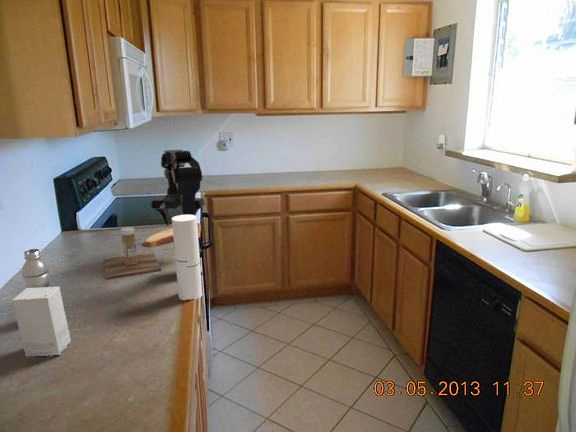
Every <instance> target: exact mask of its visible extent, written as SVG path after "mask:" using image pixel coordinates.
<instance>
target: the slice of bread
mask: <svg viewBox="0 0 576 432" xmlns="http://www.w3.org/2000/svg"><path fill="white" fill-rule="evenodd" d="M170 243H174V238H173V227H172V228H168V229H163V230H161V231H159V232H156V233H153V235H150V236H148V237H147V238H146V239H144V243H143V245H144V247H145V248H154V247H158V246H163V245H166V244H170Z"/></svg>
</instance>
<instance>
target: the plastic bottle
mask: <svg viewBox="0 0 576 432" xmlns="http://www.w3.org/2000/svg"><path fill="white" fill-rule="evenodd" d="M23 255H24V260H25V262H24V263H23V266H22V267H21V275H22V279H23V280H24V283H25V287H26V288H40V287H51V285H50V274H49V273H50V272H49V271H50V269H49V265H48V263H47V262H46V261H45V260H43V259H42V258H41V256H42V254H41V252H40V249H38V248H32V249H26V250H25V251H24V252H23Z"/></svg>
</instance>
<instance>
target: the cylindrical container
mask: <svg viewBox="0 0 576 432" xmlns="http://www.w3.org/2000/svg"><path fill="white" fill-rule="evenodd" d="M171 224H172V225H171V226H172V228H173V238H174V241H173V250H174V249H175V250H174V259H175V260H174V261H175V269H176V281H177V292H178V293H177V294H178V299H179V300H181V301H185V300H187V299H194V300H193V301H195V300H198V299H200V298H201V297H202V296H203V287H202V276H201V272H202V271H201V258H200V256H199V242H198V236H199V231H198V218H197V215H196V216H195V215H181V214H180V215H176V216H172V217H171Z"/></svg>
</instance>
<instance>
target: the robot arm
mask: <svg viewBox="0 0 576 432" xmlns="http://www.w3.org/2000/svg"><path fill="white" fill-rule="evenodd" d="M161 155H162V156H161V157H160V165H161V168H162V169H163V175H164V177H165V179H167V180H166V181H167V184H168V185H167V186H168V188H167V194H166V195H164V197H157V198H154V199H152V200H151V202H150V208H151V209H154V211H157V212H159V213H160V215H161V217H162V218H163V220H164V222H165V224H166V226H170V217H169V216H170V214H169V209H173V210H177V209H178V208H179V207H180V215H195V216H197V213H198V211H199V210H200V209H202V208H203V207H204V206H205V205H206V204H205V199H204V198H203V197H196V194H197V193H198V192H199V190H200V189H201V182H202V181H203V174H202V169H201V165H200V163H199V162H198V160H196V159H195V158H194V157H193V156H192V154H191V151H190V150H183V149H170V150H167V149H166V150H164V151H163V153H162V154H161ZM185 164H188V165H189V166H187V167H185ZM198 242H199V256H200V259H201V258H202V259H203V258H205V257H204V256H205V254H204V253H205V252H204V248H203V244H202V239H201V236H199V235H198ZM173 250H174V251H175V249H174V248H173ZM203 275H204V274H203V271H201V277H202V276H203Z"/></svg>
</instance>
